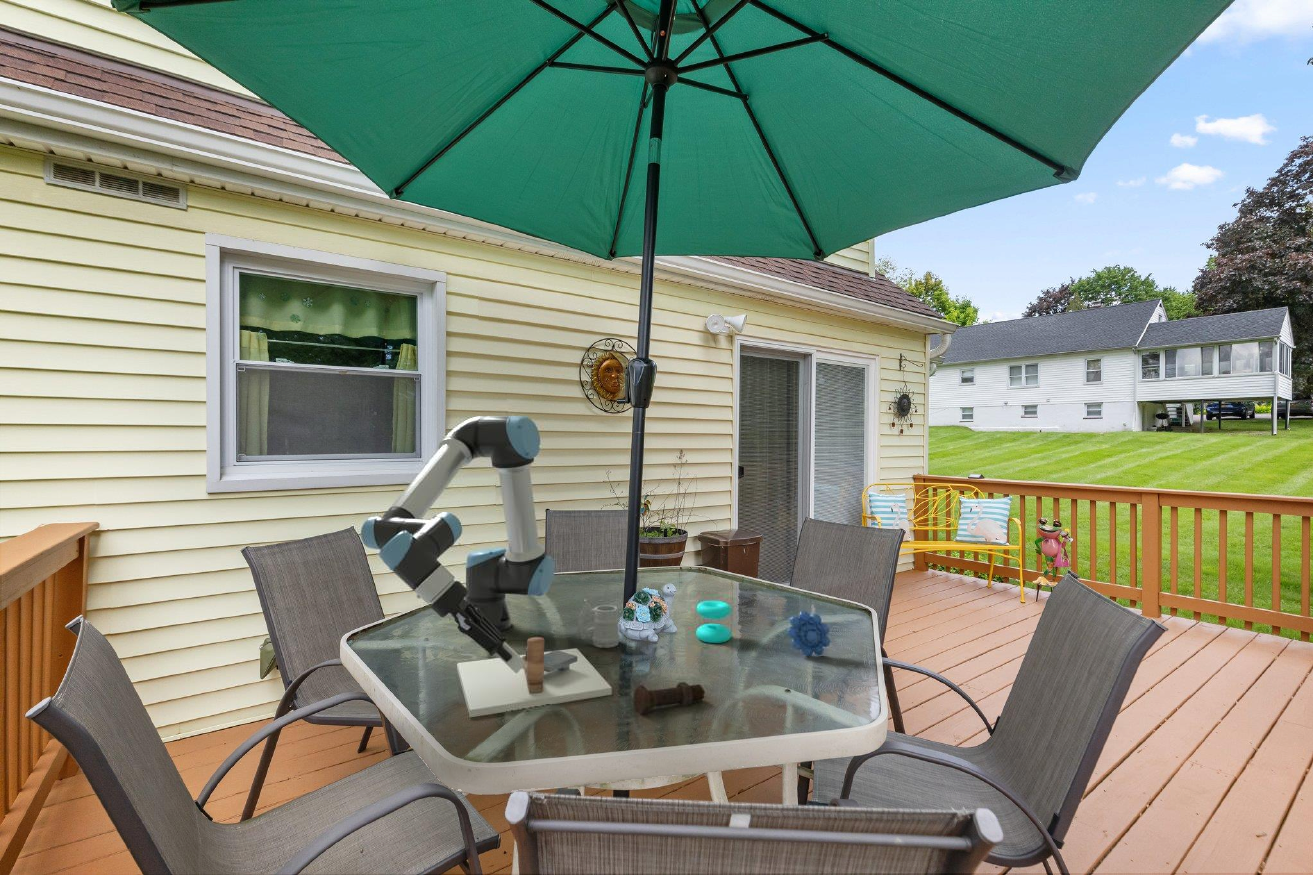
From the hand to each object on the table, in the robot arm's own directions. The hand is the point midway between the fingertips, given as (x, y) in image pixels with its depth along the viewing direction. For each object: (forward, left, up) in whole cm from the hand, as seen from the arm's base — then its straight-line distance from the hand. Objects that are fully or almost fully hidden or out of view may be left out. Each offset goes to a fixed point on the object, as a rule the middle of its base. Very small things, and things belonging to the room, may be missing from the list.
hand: (521, 667), depth 129 cm
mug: (-28, +27, -7) cm, 40 cm away
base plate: (-8, +4, -6) cm, 11 cm away
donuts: (-20, +59, -7) cm, 63 cm away
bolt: (+16, +28, -7) cm, 33 cm away
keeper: (-7, +9, -6) cm, 13 cm away
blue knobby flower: (+3, +75, -7) cm, 75 cm away
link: (-7, +4, -5) cm, 9 cm away
